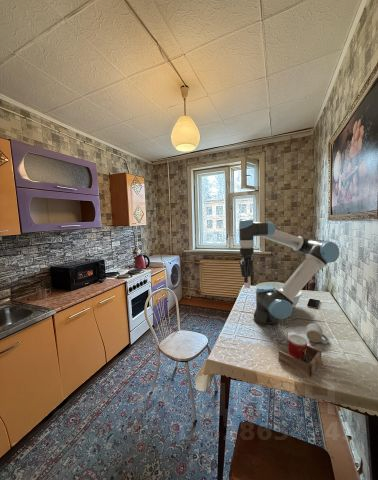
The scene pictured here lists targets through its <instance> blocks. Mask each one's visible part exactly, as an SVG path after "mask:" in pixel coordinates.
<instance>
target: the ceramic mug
mask: <svg viewBox="0 0 378 480" xmlns="http://www.w3.org/2000/svg"><path fill="white" fill-rule="evenodd" d="M323 332H324V331H323V328H322V327H321V326H320V325H319V324H316V323H314V322H312V323H309V324H307V325H306V332H305V333H306V337H307V339H308V340H309V341H310V342H311V343H314V344H315V343H316V344H317V343H323V344H324V345H327V344H329V343H330V339H329V337H327V336H326V335H325V334H323ZM323 339H324V340H323Z"/></svg>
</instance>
